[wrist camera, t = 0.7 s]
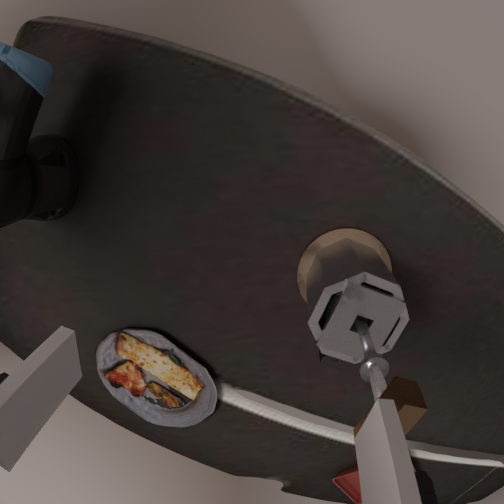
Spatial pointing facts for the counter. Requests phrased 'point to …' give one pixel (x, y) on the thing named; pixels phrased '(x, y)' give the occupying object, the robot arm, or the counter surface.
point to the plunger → (377, 368)
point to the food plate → (154, 366)
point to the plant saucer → (350, 483)
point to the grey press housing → (350, 293)
